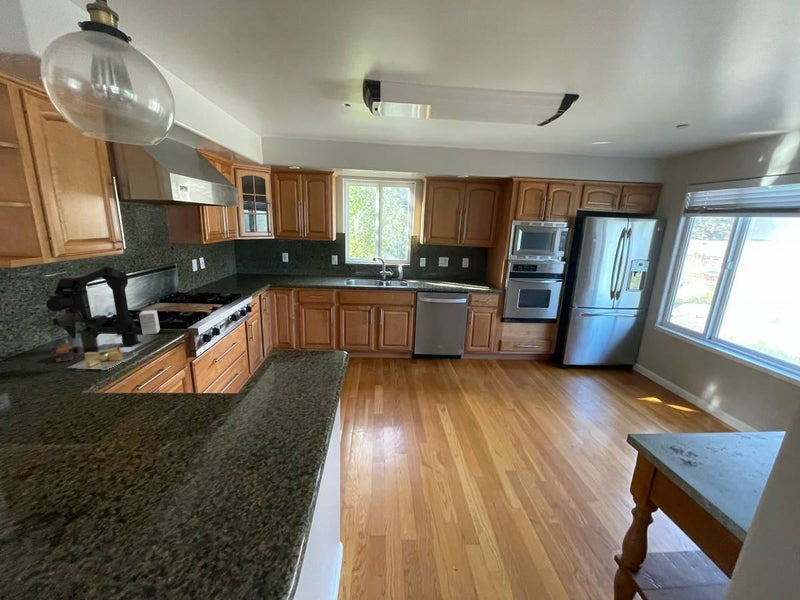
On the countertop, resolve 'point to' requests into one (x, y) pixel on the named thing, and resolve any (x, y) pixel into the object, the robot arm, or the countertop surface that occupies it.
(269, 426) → the countertop surface
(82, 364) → the flange plate
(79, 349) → the brown clawed figurine
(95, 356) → the brass cross latch
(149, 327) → the supplement box
